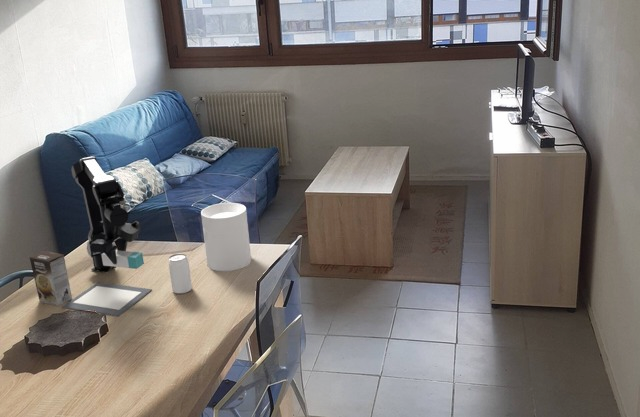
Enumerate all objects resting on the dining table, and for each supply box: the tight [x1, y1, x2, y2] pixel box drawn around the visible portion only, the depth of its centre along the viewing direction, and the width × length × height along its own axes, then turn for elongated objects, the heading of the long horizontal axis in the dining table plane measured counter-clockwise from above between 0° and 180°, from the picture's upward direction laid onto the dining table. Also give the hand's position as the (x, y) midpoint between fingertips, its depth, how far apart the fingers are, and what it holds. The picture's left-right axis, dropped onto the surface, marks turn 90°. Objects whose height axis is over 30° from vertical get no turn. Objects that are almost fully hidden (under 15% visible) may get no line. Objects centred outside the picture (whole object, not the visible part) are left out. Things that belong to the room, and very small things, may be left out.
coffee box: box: [29, 250, 73, 307], centre depth 208 cm, size 9×6×16 cm
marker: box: [101, 249, 145, 270], centre depth 209 cm, size 13×4×4 cm, turn 71°
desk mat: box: [61, 281, 153, 317], centre depth 209 cm, size 22×18×1 cm
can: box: [168, 253, 193, 295], centre depth 211 cm, size 6×6×12 cm
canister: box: [200, 202, 252, 272], centre depth 229 cm, size 16×16×20 cm
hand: (119, 261), depth 210 cm, fingers closed on marker, 4 cm apart
